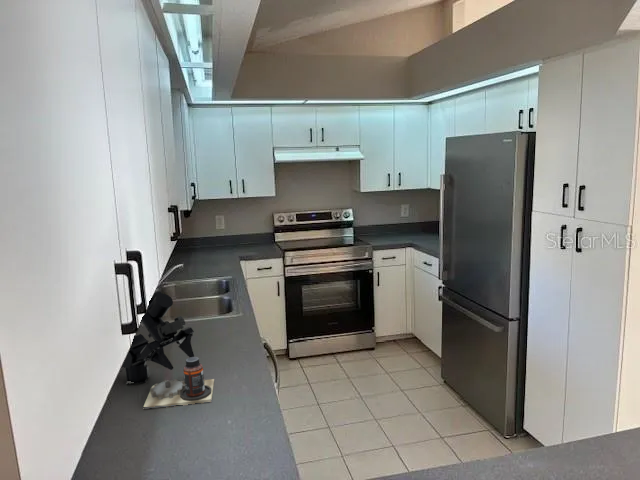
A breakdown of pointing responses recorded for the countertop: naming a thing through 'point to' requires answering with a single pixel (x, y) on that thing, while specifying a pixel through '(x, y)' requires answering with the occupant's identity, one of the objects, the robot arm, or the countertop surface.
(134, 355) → the robot arm
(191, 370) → the supplement bottle
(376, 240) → the countertop surface
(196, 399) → the gear board
